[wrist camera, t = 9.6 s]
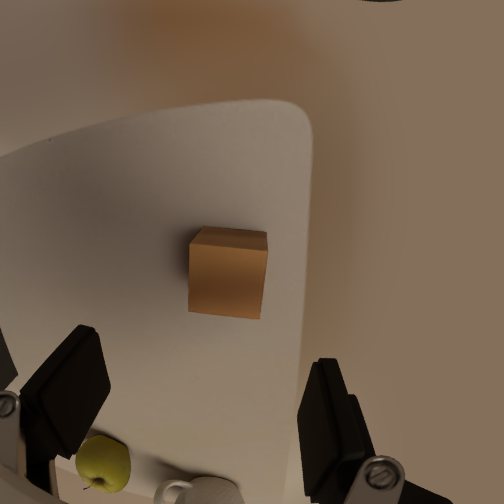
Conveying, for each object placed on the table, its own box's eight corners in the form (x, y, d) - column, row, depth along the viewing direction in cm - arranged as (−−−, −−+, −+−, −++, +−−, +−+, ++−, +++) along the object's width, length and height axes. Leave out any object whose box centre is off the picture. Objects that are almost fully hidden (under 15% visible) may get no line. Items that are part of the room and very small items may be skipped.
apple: (110, 465, 31) (80, 500, 21) (88, 426, 32) (50, 458, 22) (151, 470, 31) (123, 512, 21) (128, 429, 31) (92, 469, 21)
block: (204, 225, 21) (189, 243, 16) (266, 231, 21) (268, 251, 16) (201, 283, 22) (188, 311, 18) (259, 289, 22) (259, 319, 18)
